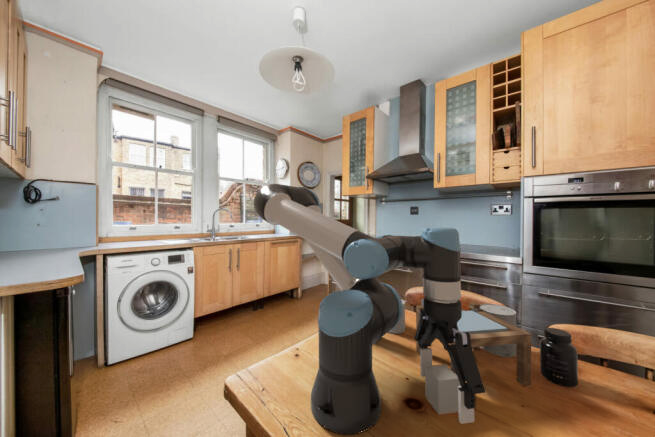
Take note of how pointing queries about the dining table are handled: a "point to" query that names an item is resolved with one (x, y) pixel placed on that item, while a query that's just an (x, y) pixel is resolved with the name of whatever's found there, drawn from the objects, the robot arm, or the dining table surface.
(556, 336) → the supplement bottle
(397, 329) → the mug
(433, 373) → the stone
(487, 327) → the trapdoor
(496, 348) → the short grey cylinder
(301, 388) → the dining table surface
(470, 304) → the hatch frame
